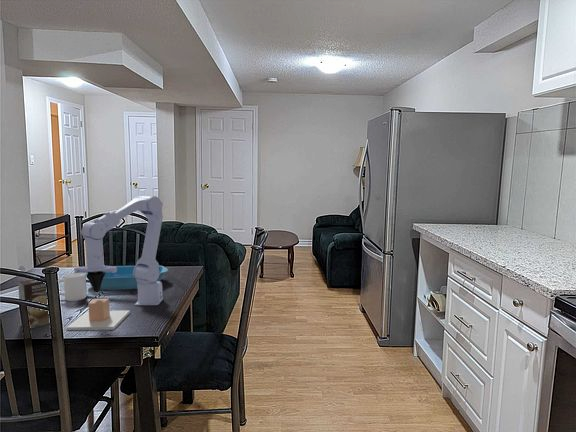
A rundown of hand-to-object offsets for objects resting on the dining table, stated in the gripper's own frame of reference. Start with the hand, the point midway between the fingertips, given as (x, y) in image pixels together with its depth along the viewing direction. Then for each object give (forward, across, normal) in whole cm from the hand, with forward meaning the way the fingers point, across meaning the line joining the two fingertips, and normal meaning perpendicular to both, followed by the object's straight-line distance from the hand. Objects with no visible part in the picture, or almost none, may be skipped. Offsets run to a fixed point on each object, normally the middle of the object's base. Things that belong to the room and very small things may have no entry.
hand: (97, 291), depth 151 cm
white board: (+10, +1, -2) cm, 11 cm away
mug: (+11, -21, +24) cm, 34 cm away
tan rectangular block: (+9, +1, -2) cm, 10 cm away
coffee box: (+11, -20, -4) cm, 23 cm away
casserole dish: (+11, -4, +44) cm, 46 cm away
